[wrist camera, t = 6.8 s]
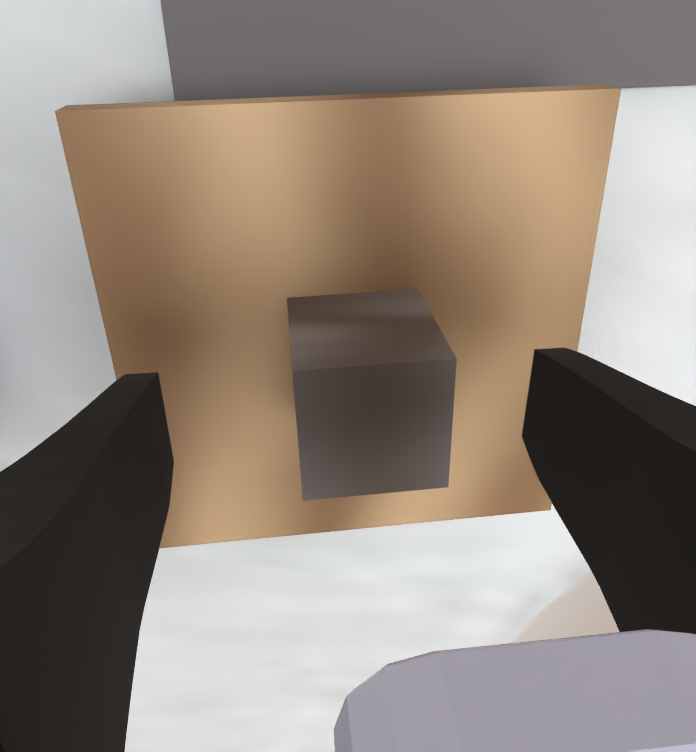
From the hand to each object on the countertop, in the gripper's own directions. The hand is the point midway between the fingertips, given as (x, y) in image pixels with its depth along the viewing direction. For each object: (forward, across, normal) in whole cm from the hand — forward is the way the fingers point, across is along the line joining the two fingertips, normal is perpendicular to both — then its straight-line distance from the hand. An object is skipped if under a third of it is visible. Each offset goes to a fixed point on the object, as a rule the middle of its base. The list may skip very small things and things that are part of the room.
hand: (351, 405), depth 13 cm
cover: (+6, -1, +2) cm, 7 cm away
